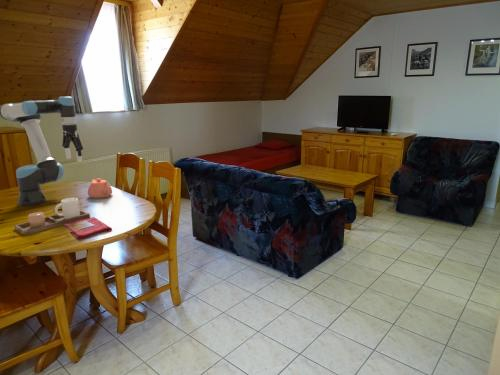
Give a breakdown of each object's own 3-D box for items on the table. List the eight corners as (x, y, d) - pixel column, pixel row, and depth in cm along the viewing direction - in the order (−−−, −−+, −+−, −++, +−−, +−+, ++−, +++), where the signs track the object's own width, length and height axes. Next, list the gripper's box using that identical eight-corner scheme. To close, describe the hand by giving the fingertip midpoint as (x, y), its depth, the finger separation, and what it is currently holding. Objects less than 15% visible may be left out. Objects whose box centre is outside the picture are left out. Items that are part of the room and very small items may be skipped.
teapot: (119, 197, 239) (117, 179, 236) (97, 202, 229) (94, 184, 226) (104, 191, 254) (102, 174, 251) (82, 195, 244) (80, 178, 240)
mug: (56, 222, 194) (53, 204, 191) (55, 217, 201) (53, 200, 198) (81, 218, 200) (78, 200, 197) (79, 213, 206) (77, 196, 204)
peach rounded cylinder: (28, 227, 187) (25, 214, 185) (42, 223, 192) (40, 211, 190) (33, 230, 183) (31, 217, 181) (48, 226, 188) (46, 214, 186)
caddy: (15, 230, 185) (14, 225, 185) (78, 213, 210) (77, 208, 209) (25, 237, 178) (24, 231, 177) (90, 218, 202) (89, 213, 201)
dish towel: (78, 241, 175) (78, 236, 174) (62, 227, 191) (62, 222, 190) (113, 231, 186) (112, 226, 185) (95, 219, 202) (94, 215, 202)
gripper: (52, 123, 214) (58, 158, 220) (73, 126, 199) (78, 163, 205) (65, 122, 220) (70, 156, 226) (86, 125, 205) (91, 161, 211)
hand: (74, 160), depth 215 cm, fingers open, 13 cm apart
